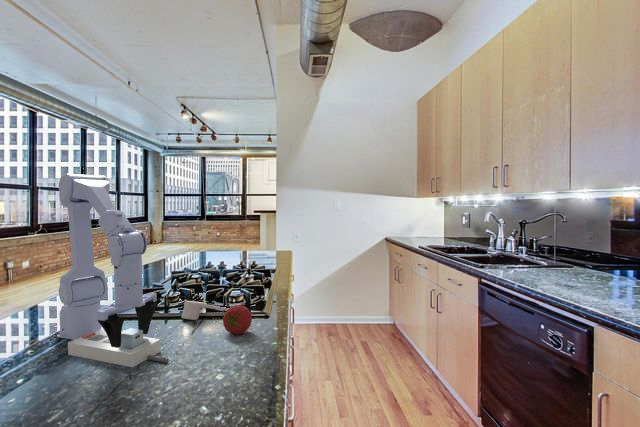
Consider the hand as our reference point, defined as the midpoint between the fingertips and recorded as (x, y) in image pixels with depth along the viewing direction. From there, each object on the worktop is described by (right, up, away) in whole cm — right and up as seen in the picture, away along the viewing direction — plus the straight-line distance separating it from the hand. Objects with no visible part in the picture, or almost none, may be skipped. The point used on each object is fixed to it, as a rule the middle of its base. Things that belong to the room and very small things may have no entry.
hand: (130, 339), depth 77 cm
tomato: (+22, -4, +13) cm, 26 cm away
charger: (0, -4, 0) cm, 4 cm away
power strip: (-2, -4, +1) cm, 4 cm away
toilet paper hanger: (+7, -3, +29) cm, 30 cm away
